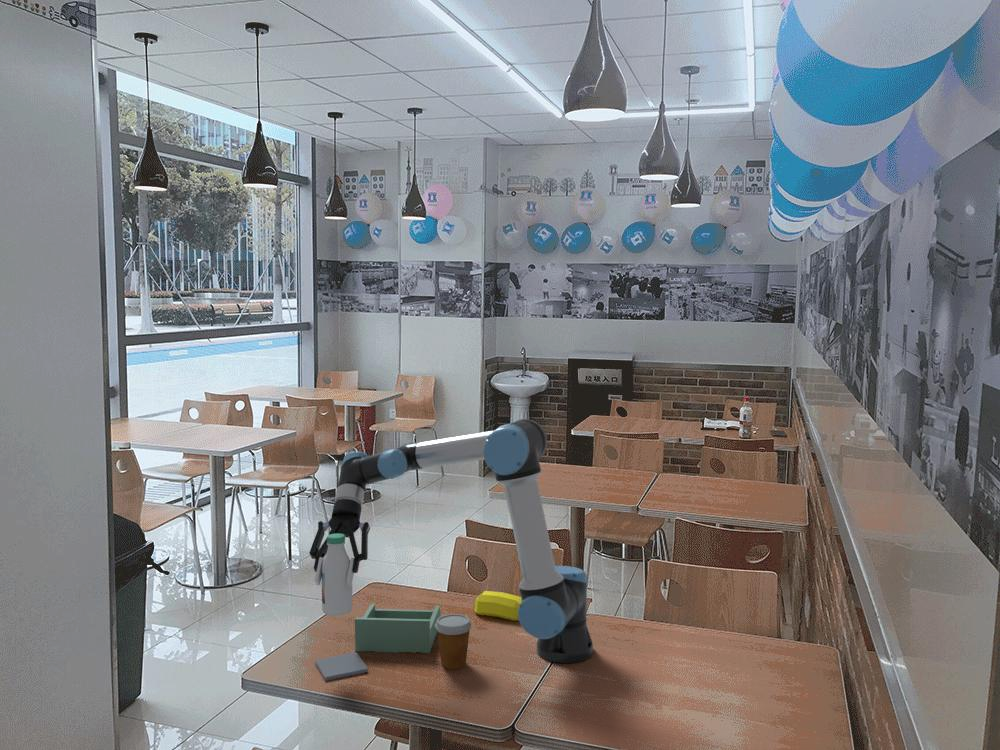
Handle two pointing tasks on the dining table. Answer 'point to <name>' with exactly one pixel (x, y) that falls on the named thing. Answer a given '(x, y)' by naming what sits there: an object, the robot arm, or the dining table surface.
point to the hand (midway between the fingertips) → (333, 583)
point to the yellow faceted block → (498, 605)
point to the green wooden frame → (396, 630)
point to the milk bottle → (336, 578)
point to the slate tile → (341, 666)
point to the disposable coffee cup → (453, 639)
